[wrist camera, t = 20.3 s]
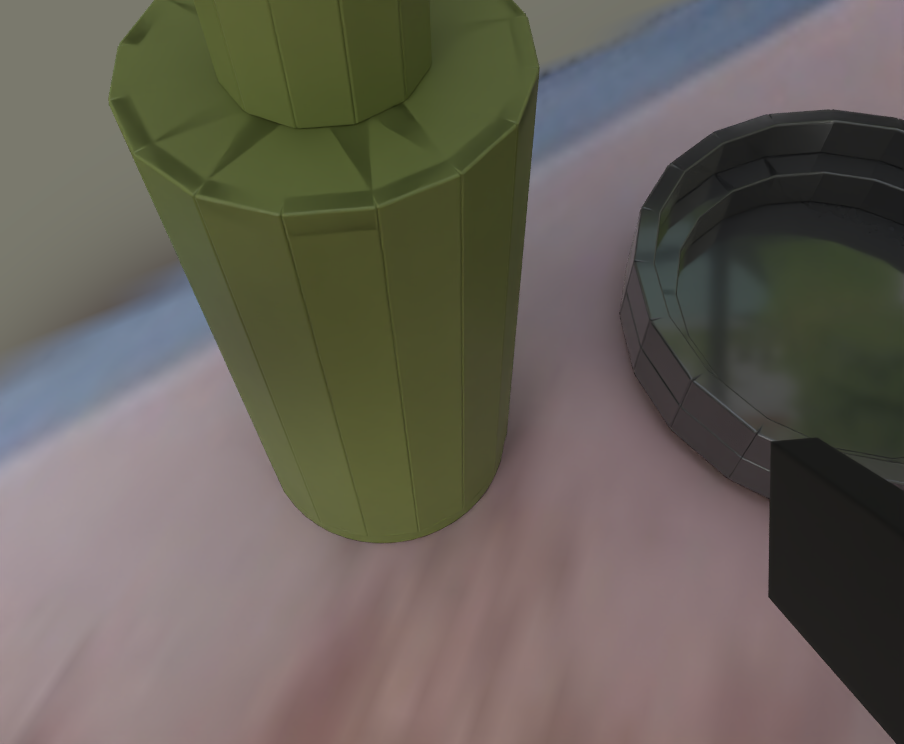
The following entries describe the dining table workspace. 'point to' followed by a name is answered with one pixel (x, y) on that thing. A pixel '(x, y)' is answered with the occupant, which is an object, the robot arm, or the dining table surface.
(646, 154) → the dining table surface
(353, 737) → the dining table surface
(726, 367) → the pan
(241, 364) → the oil bottle
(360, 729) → the dining table surface
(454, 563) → the dining table surface
